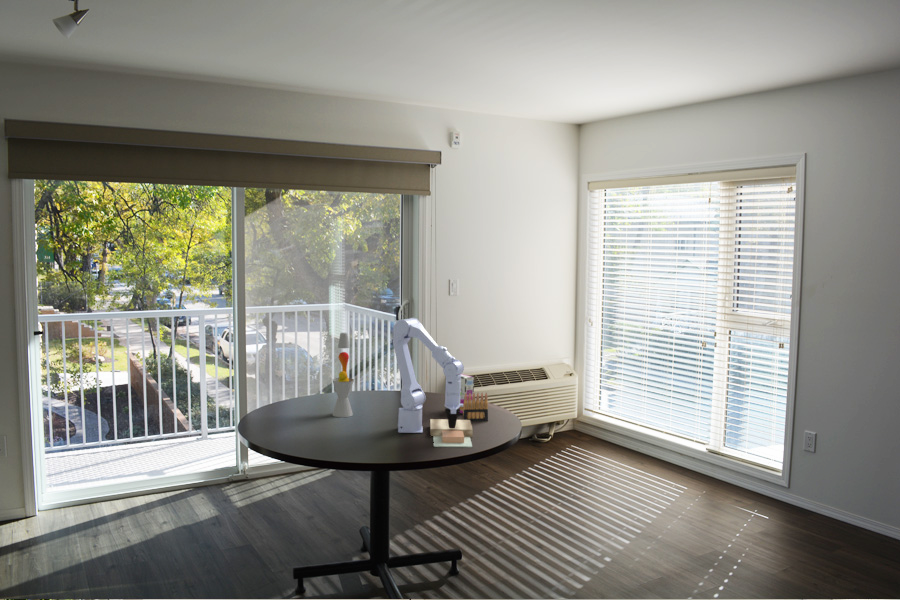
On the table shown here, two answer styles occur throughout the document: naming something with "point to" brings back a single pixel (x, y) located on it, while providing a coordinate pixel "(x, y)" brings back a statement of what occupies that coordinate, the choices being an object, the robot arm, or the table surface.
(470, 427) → the riser
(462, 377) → the candy bar box
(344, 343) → the lava lamp
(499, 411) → the table surface
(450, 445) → the mat
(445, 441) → the peach flat block
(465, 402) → the ammunition clip
